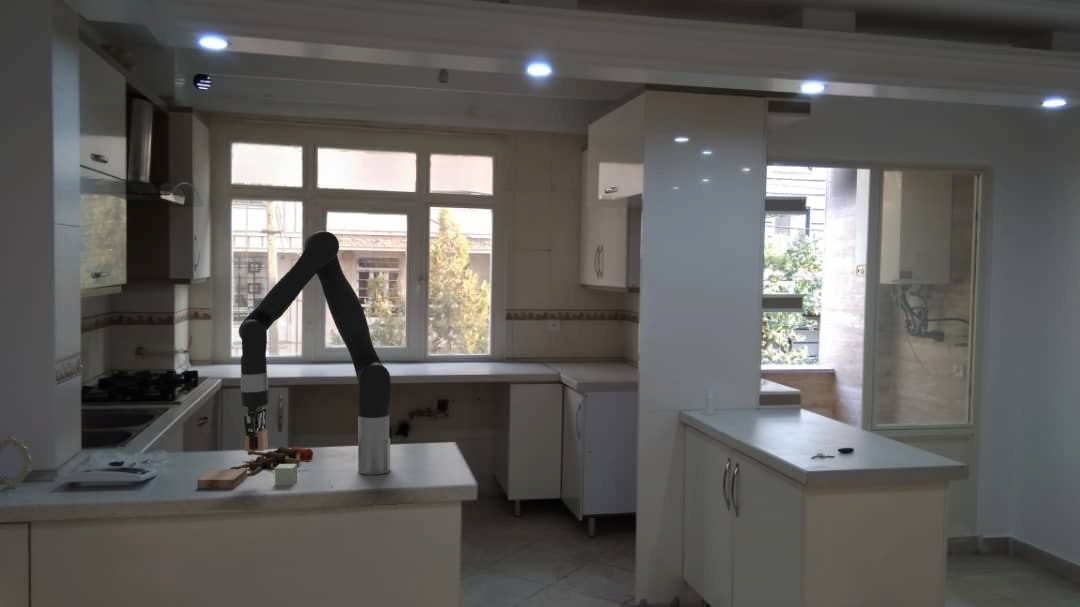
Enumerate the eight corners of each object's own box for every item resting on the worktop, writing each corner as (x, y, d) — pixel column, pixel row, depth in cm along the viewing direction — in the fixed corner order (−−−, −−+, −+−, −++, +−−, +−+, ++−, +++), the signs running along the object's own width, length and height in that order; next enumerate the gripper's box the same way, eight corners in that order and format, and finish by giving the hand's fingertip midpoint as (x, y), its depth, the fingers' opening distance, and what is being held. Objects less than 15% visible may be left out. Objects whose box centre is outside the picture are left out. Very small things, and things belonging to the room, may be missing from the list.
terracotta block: (267, 446, 245) (267, 429, 245) (263, 450, 240) (262, 433, 240) (250, 447, 245) (249, 430, 245) (245, 451, 240) (244, 433, 240)
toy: (259, 494, 243) (335, 462, 268) (258, 476, 242) (333, 445, 268) (201, 481, 257) (278, 451, 282) (199, 463, 256) (277, 435, 281)
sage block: (297, 480, 245) (297, 463, 245) (292, 485, 240) (292, 468, 240) (279, 481, 245) (279, 464, 245) (275, 485, 240) (274, 468, 240)
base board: (246, 477, 248) (246, 469, 248) (233, 488, 236) (233, 479, 236) (212, 477, 248) (212, 469, 247) (197, 488, 236) (197, 479, 235)
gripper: (260, 392, 235) (262, 452, 236) (274, 384, 249) (276, 441, 250) (233, 393, 234) (235, 453, 235) (248, 385, 249) (250, 442, 250)
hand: (256, 447), depth 243 cm, fingers closed on terracotta block, 5 cm apart
